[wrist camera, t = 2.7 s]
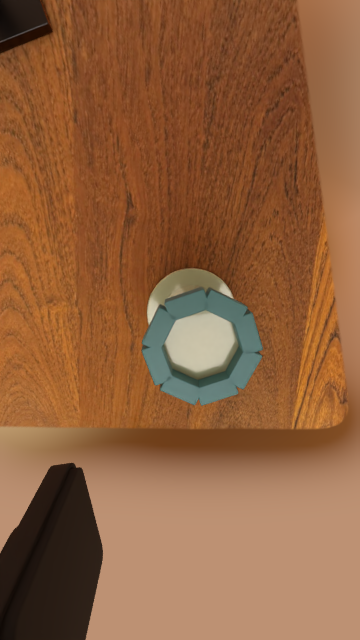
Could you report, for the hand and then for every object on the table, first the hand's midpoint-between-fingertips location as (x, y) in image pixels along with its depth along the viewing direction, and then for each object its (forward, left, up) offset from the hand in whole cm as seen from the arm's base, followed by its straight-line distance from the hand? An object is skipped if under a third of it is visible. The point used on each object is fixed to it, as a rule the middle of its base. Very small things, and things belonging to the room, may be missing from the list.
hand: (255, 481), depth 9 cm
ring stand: (0, 0, -22) cm, 22 cm away
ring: (0, 0, -12) cm, 12 cm away
